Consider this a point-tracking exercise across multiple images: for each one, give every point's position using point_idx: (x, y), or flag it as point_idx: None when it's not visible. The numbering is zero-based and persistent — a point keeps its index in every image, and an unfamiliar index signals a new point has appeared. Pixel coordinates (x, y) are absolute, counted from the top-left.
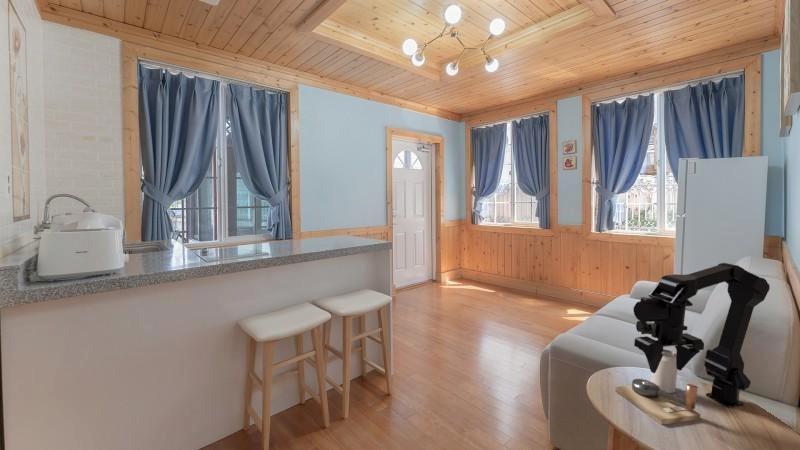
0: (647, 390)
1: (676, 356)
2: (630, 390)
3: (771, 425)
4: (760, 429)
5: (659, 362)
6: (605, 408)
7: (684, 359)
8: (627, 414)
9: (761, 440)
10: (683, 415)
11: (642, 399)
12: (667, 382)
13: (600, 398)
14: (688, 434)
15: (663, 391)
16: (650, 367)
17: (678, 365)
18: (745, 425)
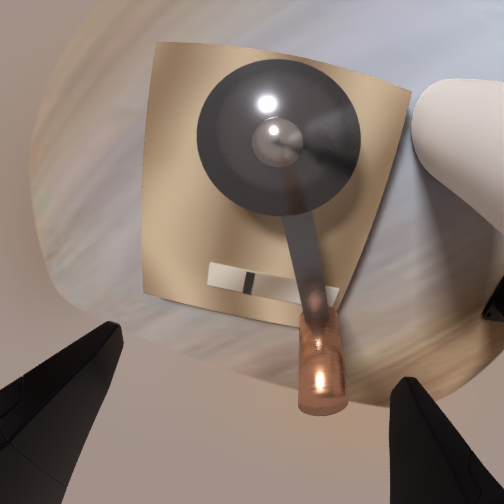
0: (219, 187)
1: (449, 461)
2: (206, 91)
3: (456, 377)
4: None
5: (69, 462)
6: (39, 148)
7: (399, 499)
8: (82, 199)
9: (362, 397)
10: (252, 314)
11: (189, 176)
12: (448, 184)
13: (62, 86)
14: (195, 333)
15: (307, 232)
16: (80, 348)
17: (405, 415)
18: (409, 366)
